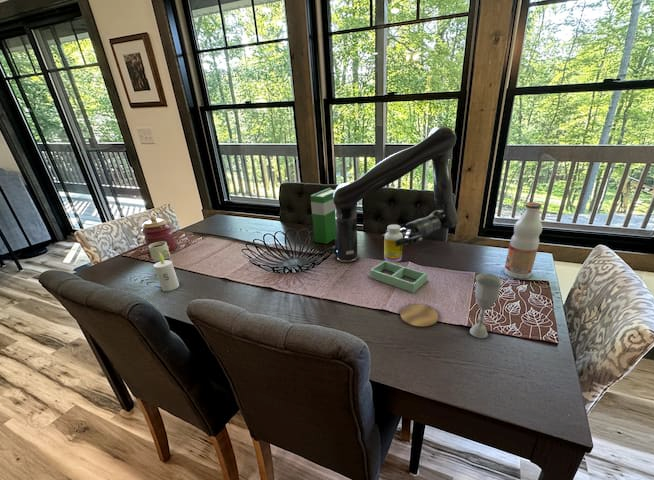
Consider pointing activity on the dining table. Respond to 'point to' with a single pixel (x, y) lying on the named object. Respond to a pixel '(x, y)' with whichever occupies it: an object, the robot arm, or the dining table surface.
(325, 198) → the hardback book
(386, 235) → the supplement bottle
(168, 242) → the kitchen canister
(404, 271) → the holder
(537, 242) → the fruit juice
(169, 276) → the candle
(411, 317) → the coaster
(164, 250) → the character mug
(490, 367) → the dining table surface
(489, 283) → the chalice
